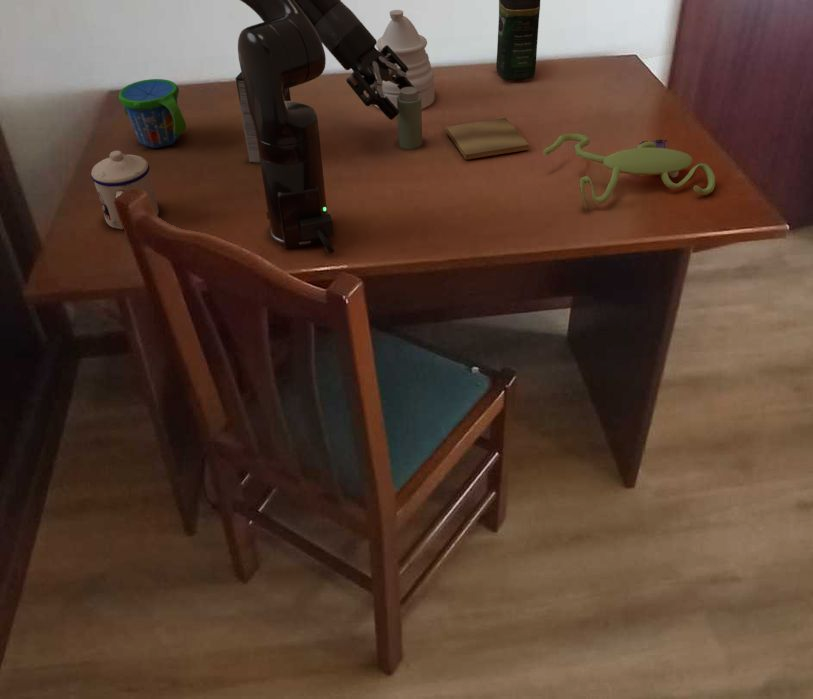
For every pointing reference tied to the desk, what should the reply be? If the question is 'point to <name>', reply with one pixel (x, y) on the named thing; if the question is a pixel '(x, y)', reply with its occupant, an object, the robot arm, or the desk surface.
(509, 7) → the coffee jar
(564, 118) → the desk surface
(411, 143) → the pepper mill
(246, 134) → the coffee box
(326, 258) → the desk surface
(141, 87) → the snack cup
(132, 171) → the teacup with lid
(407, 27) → the honey pot
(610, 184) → the figurine
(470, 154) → the plate
